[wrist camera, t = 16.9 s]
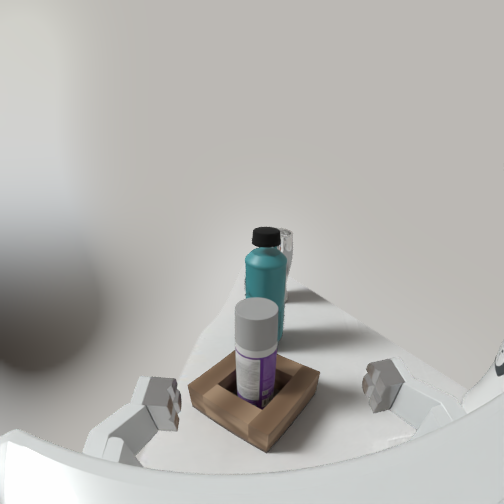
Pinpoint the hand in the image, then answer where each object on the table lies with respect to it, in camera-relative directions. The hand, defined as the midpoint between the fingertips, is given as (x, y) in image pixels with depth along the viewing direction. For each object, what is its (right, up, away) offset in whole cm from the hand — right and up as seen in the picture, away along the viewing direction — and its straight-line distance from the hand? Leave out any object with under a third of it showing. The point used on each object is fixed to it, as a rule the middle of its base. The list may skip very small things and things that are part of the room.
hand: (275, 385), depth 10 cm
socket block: (0, -15, +23) cm, 27 cm away
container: (0, -15, +23) cm, 27 cm away
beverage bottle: (+1, -10, +36) cm, 37 cm away
